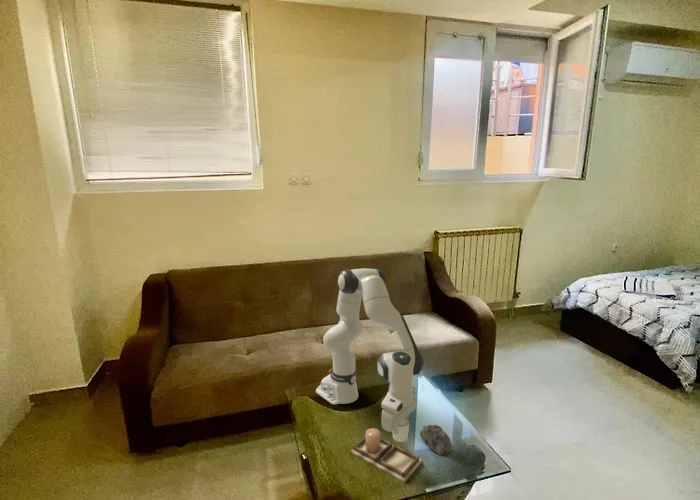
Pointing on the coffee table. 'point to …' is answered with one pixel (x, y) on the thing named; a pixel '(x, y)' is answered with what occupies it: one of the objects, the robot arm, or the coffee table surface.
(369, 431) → the tan rounded cylinder
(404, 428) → the white cylinder
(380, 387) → the coffee table surface
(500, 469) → the coffee table surface
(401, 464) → the divided wooden tray
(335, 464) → the coffee table surface
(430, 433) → the mineral rock
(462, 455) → the coffee table surface
